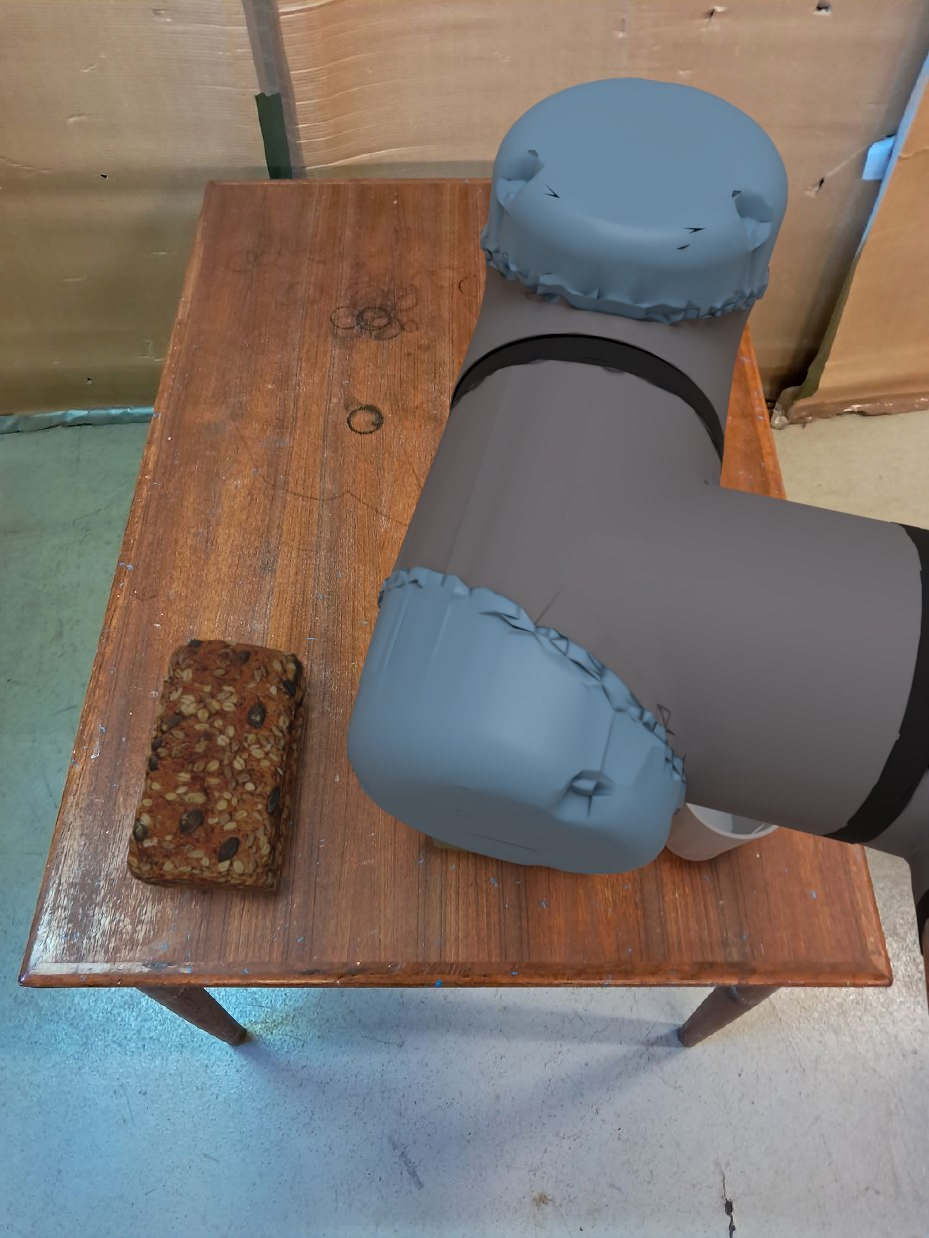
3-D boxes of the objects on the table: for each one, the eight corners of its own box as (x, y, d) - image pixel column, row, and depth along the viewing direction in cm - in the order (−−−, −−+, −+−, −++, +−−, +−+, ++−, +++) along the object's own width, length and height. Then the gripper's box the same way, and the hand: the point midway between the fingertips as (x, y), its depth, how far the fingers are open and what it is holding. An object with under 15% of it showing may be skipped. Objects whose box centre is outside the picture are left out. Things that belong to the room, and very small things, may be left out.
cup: (741, 878, 66) (795, 847, 55) (641, 862, 66) (676, 828, 56) (741, 782, 69) (792, 736, 59) (647, 768, 70) (680, 719, 59)
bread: (201, 678, 74) (165, 628, 65) (319, 684, 73) (299, 635, 64) (153, 893, 65) (104, 870, 56) (286, 901, 65) (258, 880, 56)
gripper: (504, 345, 37) (489, 593, 58) (448, 694, 29) (453, 837, 50) (669, 362, 37) (594, 606, 58) (657, 722, 29) (575, 854, 50)
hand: (529, 713), depth 54 cm, fingers closed on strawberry, 4 cm apart
